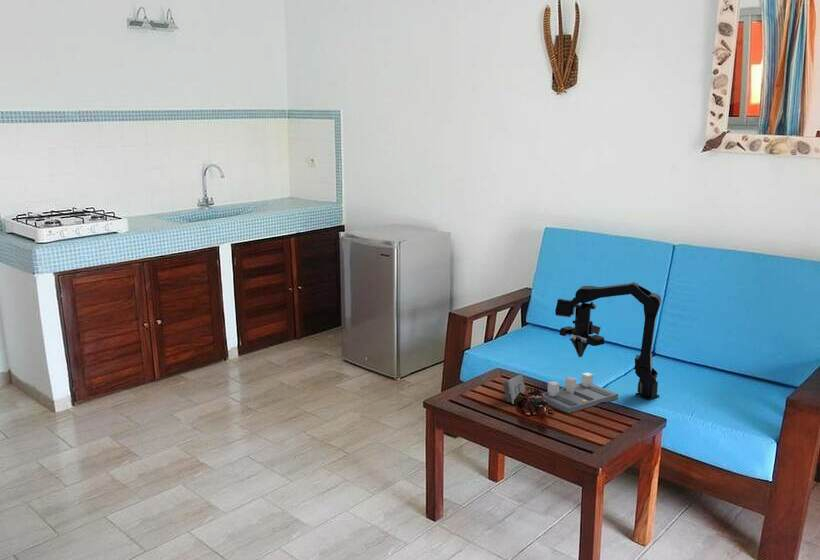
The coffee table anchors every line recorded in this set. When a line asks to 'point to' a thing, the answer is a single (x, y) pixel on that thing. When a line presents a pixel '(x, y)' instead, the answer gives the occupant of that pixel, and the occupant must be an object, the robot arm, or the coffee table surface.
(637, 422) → the coffee table surface
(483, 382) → the coffee table surface
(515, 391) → the electrical switch
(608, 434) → the coffee table surface
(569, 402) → the breaker panel
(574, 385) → the breaker handle
